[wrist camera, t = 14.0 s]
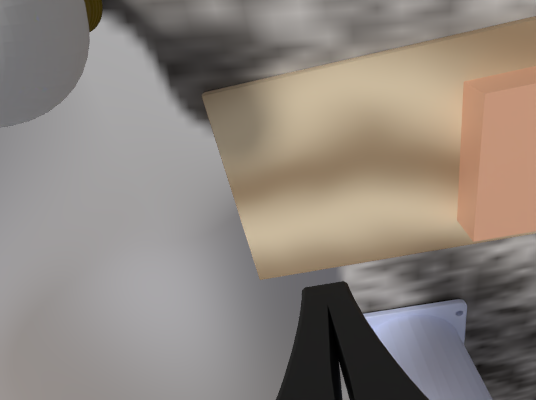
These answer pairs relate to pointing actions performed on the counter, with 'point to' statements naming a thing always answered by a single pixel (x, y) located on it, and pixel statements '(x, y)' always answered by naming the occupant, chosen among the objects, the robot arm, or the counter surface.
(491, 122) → the tile
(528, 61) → the mat
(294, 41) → the counter surface
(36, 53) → the light bulb
